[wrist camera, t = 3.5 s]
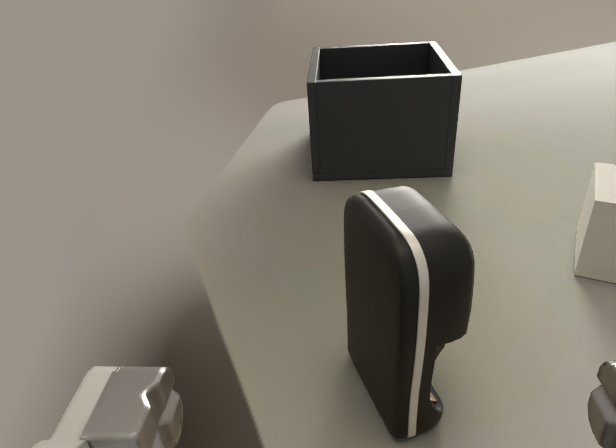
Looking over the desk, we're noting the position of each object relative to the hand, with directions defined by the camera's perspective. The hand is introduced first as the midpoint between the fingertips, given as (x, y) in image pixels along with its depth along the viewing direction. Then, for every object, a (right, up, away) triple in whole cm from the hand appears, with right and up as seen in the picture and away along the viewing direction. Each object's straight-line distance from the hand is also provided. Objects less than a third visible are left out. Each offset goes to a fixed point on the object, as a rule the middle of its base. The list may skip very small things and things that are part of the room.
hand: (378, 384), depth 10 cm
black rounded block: (+4, -6, +18) cm, 19 cm away
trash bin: (+6, +11, +45) cm, 47 cm away
